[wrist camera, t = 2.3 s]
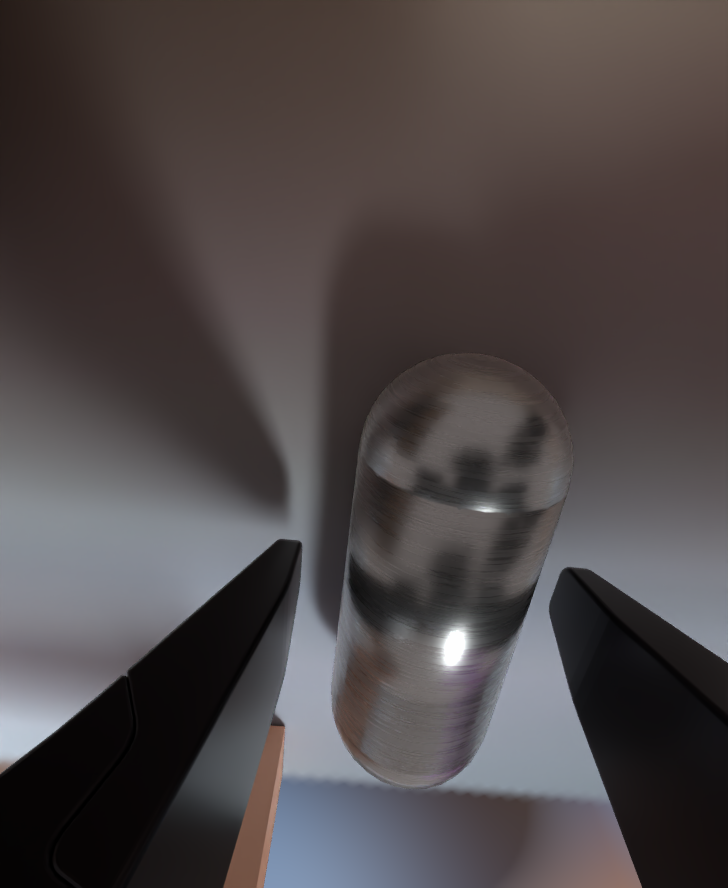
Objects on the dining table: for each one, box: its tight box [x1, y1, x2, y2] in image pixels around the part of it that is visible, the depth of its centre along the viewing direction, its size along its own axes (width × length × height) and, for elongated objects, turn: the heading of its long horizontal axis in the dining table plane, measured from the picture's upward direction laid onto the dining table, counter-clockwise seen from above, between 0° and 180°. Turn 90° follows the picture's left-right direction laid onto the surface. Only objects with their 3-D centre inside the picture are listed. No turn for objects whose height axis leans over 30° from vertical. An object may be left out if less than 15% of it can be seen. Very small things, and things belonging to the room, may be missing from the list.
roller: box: [331, 353, 573, 789], centre depth 7 cm, size 8×3×3 cm, turn 174°
